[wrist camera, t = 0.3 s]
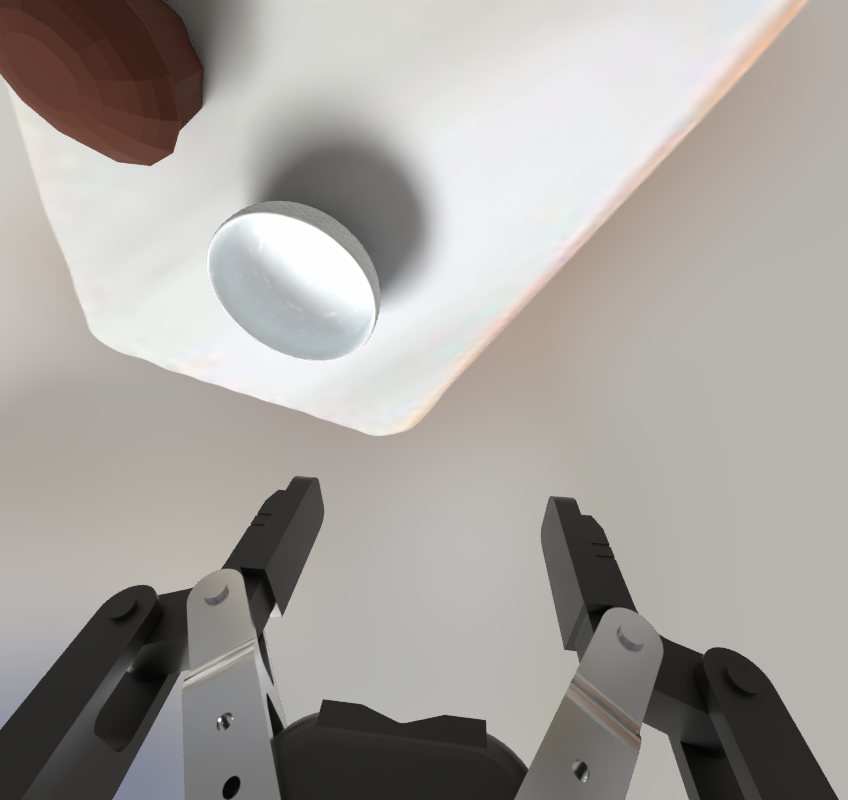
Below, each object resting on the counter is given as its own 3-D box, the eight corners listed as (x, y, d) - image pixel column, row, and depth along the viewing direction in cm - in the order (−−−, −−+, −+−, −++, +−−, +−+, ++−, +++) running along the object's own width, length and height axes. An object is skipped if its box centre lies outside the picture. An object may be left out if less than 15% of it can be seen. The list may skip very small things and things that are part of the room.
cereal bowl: (298, 138, 31) (266, 164, 26) (419, 280, 40) (411, 318, 35) (209, 249, 40) (174, 283, 35) (325, 345, 49) (308, 382, 44)
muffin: (72, 86, 30) (-43, 113, 23) (35, -119, 22) (-152, -163, 16) (220, 168, 33) (156, 212, 27) (232, 17, 26) (146, 26, 19)
